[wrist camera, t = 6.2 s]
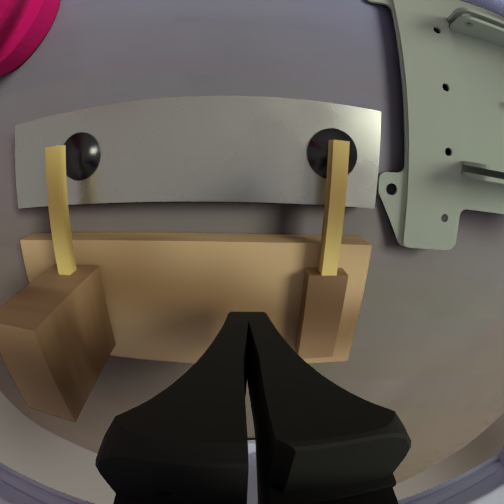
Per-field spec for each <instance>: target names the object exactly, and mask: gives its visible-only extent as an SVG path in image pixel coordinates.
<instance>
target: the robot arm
mask: <svg viewBox="0 0 504 504" xmlns="http://www.w3.org/2000/svg"><path fill="white" fill-rule="evenodd" d="M247 381H248V388H249V395H250V401H251V408H252V415H253V421H254V429H255V440H248V439H247V425H246V409H245V395H246V384H247ZM410 447H411V440H410V438H409V436H408V434H407V432H406V429H405V427H404V425H403V424H402V422H401V420H400V419H399V417H398V416H397V414H396V413H395V411H392V410H390V409H387V408H384V407H382V406H379V405H376V404H374V403H371V402H368V401H366V400H364V399H362V398H360V397H358V396H356V395H354V394H352V393H350V392H348V391H346V390H344V389H343V388H341V387H339V386H337V385H336V384H334V383H333V382H331V381H330V380H328V379H327V378H325V377H324V376H322V375H321V374H320V373H318V372H317V371H316V370H315V369H313V368H312V367H311V366H310V365H309V364H307V363H306V362H305V361H304V360H303V359H302V358H301V357H300V356H299V355H298V354H297V353H296V352H295V351H294V350H293V348H292V347H291V346H290V345H289V344H288V343H287V342H286V340H285V339H284V338H283V337H282V335H281V334H280V333H279V332H278V330H277V329H276V327H275V326H274V324H273V323H272V321H271V320H270V318H269V317H268V315H267V314H266V313H265V312H233V311H231V312H230V313H228V315H227V318H226V320H225V322H224V324H223V326H222V328H221V330H220V331H219V333H218V334H217V336H216V337H215V339H214V341H213V342H212V343H211V345H210V346H209V347H208V349H207V350H206V351H205V352H204V354H203V355H202V356H201V357H200V358H199V360H198V361H197V362H196V363H195V364H194V365H193V366H192V367H191V368H190V369H189V370H188V371H187V372H186V373H185V374H184V375H183V376H181V377H180V378H179V379H178V380H177V381H176V382H174V383H173V384H172V385H171V386H169V387H168V388H167V389H165V390H164V391H162V392H161V393H159V394H158V395H156V396H155V397H153V398H152V399H150V400H148V401H147V402H145V403H143V404H141V405H139V406H137V407H135V408H133V409H131V410H129V411H127V412H124V413H122V414H120V415H118V416H115V418H114V420H113V422H112V423H111V425H110V427H109V428H108V430H107V432H106V434H105V436H104V439H103V441H102V444H101V447H100V449H99V452H98V455H97V458H96V467H97V469H98V471H99V472H100V474H101V475H102V477H103V478H104V479H105V480H106V482H107V483H108V484H109V485H110V487H111V488H112V489H113V490H114V491H115V493H116V496H115V500H114V504H504V446H503V448H502V449H501V450H500V451H499V452H498V455H496V456H494V457H493V458H491V459H489V460H487V461H486V462H484V463H482V464H480V465H479V466H477V467H475V468H473V469H471V470H469V471H468V472H466V473H464V474H462V475H460V476H458V477H455V478H453V479H451V480H449V481H447V482H445V483H443V484H440V485H438V486H436V487H433V488H431V489H429V490H426V491H423V492H421V493H418V494H416V495H413V496H410V497H407V498H405V499H402V500H399V501H397V498H396V496H395V493H394V490H393V487H394V486H395V485H396V480H395V478H394V475H393V472H394V471H395V469H396V468H397V467H398V466H399V464H400V463H401V462H402V460H403V459H404V458H405V456H406V455H407V453H408V451H409V449H410ZM0 504H94V503H90V502H87V501H84V500H81V499H79V498H75V497H73V496H70V495H68V494H65V493H62V492H60V491H57V490H55V489H53V488H50V487H48V486H46V485H43V484H41V483H39V482H36V481H34V480H32V479H30V478H28V477H26V476H24V475H22V474H20V473H18V472H16V471H14V470H13V469H11V468H9V467H7V466H5V465H4V464H2V463H0Z"/></svg>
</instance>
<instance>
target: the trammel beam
mask: <svg viewBox="0 0 504 504" xmlns="http://www.w3.org/2000/svg"><path fill="white" fill-rule="evenodd" d="M349 146H350V142H349V141H342V140H329V143H328V162H327V178H326V192H325V205H324V216H323V227H322V235H287V234H244V233H172V232H75V233H71V235H72V242H73V249H74V256H75V262H76V265H96V266H100V270H101V277H102V283H103V288H104V294H105V299H106V304H107V309H108V313H109V318H110V323H111V327H112V331H113V335H114V339H115V343H116V345H115V347H114V348H113V350H112V352H111V354H110V355H112V356H120V357H128V358H137V359H146V360H157V361H169V362H182V363H196V362H197V361H198V360H199V358H200V357H201V356H202V355H203V354H204V352H205V351H206V350H207V349H208V347H209V346H210V345H211V343H212V342H213V341H214V339H215V337H216V336H217V334H218V333H219V331H220V330H221V328H222V326H223V324H224V322H225V320H226V318H227V315H228V313H230V312H231V311H233V312H265V313H266V314H267V315H268V317H269V318H270V320H271V321H272V323H273V324H274V326H275V327H276V329H277V330H278V332H279V333H280V334H281V335H282V337H283V338H284V339H285V340H286V342H287V343H288V344H289V345H290V346H291V347H292V348H293V350H294V351H295V352H296V353H297V354H298V355H299V356H300V357H301V358H302V359H303V360H304V361H305V362H306V363H322V362H335V361H347V360H348V356H349V352H350V349H351V345H352V341H353V337H354V333H355V329H356V324H357V320H358V316H359V311H360V307H361V302H362V297H363V292H364V287H365V282H366V277H367V271H368V265H369V260H370V254H371V247H372V245H371V244H370V243H368V242H367V241H366V240H365V239H363V238H362V237H351V236H342V230H343V221H344V212H345V201H346V190H347V177H348V163H349ZM20 242H21V248H22V253H23V258H24V263H25V268H26V272H27V276H28V281H29V284H30V283H31V282H32V281H34V280H35V279H36V278H38V277H39V276H40V275H41V274H43V273H44V272H45V271H47V270H48V269H49V268H51V267H52V266H53V265H55V264H57V263H56V258H55V252H54V246H53V239H52V233H33V234H31V235H29V236H27V237H25V238H23V239H21V240H20Z"/></svg>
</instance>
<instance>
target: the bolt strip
mask: <svg viewBox="0 0 504 504" xmlns="http://www.w3.org/2000/svg"><path fill="white" fill-rule="evenodd" d="M380 133H381V111H376V110H371V109H365V108H360V107H354V106H348V105H341V104H334V103H327V102H319V101H310V100H301V99H290V98H276V97H258V96H189V97H171V98H158V99H147V100H137V101H129V102H121V103H114V104H107V105H101V106H95V107H89V108H84V109H79V110H74V111H69V112H65V113H60V114H56V115H52V116H47V117H44V118H40V119H36V120H32V121H29V122H25V123H22V124H18V125H15V173H16V189H17V201H18V208H30V207H44V206H48V196H47V182H46V155H45V148H46V147H51V146H57V145H66V180H67V196H68V205H75V204H96V203H122V202H173V201H212V202H264V203H292V204H313V205H325V192H326V178H327V162H328V143H329V140H342V141H349V142H350V146H349V163H348V177H347V190H346V201H345V206H347V207H362V208H375V201H376V191H377V180H378V168H379V153H380Z"/></svg>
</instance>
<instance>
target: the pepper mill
mask: <svg viewBox="0 0 504 504" xmlns="http://www.w3.org/2000/svg"><path fill="white" fill-rule="evenodd" d="M59 6H60V0H0V75H4V74H6V73H9V72H10V71H12V70H14V69H15V68H16V67H18V66H19V65H21V64H22V63H23V62H24V61H25V60H26V59H27V58H28V57H29V56H30V55H31V54H32V53H33V52H34V51H35V49H36V48H37V47H38V46H39V44H40V43H41V42H42V40H43V39H44V37H45V36H46V34H47V33H48V31H49V29H50V28H51V26H52V23H53V21H54V19H55V17H56V14H57V11H58V9H59Z"/></svg>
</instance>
